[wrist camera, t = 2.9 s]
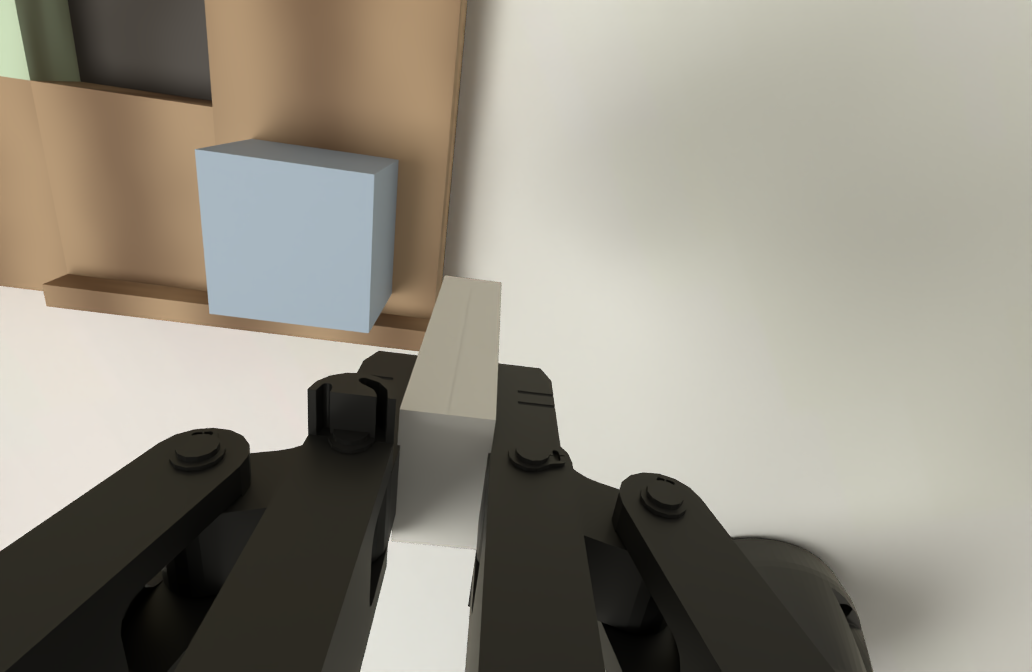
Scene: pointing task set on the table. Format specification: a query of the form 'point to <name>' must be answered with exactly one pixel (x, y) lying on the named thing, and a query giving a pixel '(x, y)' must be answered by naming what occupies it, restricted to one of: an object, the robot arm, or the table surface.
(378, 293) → the block
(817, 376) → the table surface
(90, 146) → the wooden tray
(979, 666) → the table surface
